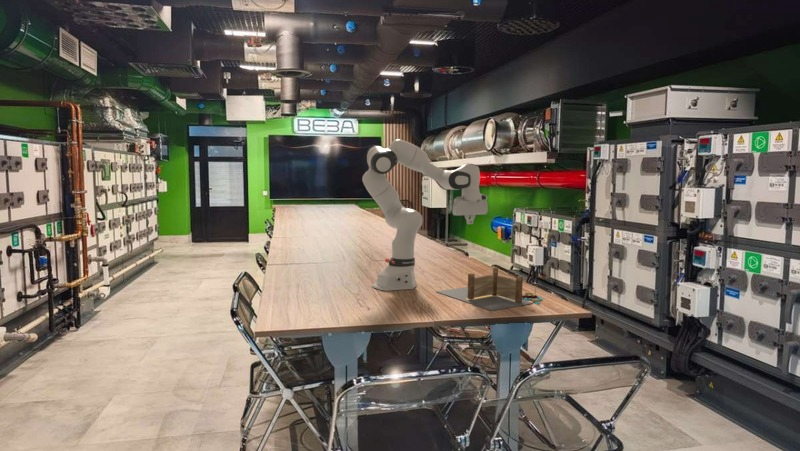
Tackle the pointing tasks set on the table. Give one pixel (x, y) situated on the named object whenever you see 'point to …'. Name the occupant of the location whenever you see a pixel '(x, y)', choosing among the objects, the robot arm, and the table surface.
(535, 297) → the gear mechanism
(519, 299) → the fence fixed
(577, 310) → the table surface
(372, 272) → the table surface
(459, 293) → the board
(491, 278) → the fence panel
